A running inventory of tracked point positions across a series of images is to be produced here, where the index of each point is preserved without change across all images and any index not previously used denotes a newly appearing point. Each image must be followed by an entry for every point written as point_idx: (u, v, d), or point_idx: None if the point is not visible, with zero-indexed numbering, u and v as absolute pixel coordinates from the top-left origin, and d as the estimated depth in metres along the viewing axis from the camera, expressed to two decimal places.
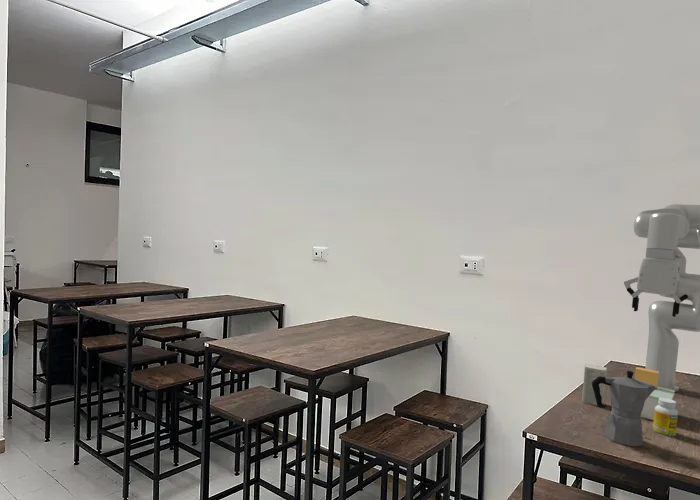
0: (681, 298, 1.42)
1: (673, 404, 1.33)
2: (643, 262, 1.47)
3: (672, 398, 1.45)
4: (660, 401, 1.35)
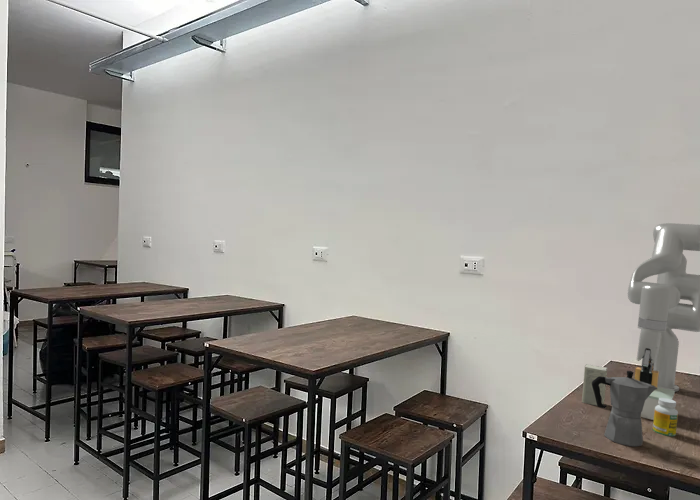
0: None
1: (673, 404, 1.33)
2: (657, 335, 1.50)
3: (672, 398, 1.45)
4: (660, 401, 1.35)
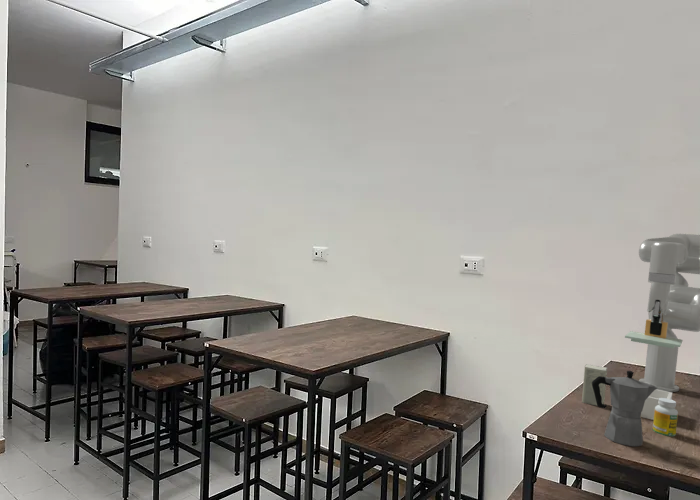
0: None
1: (673, 404, 1.33)
2: (666, 287, 1.62)
3: (680, 344, 1.57)
4: (660, 401, 1.35)
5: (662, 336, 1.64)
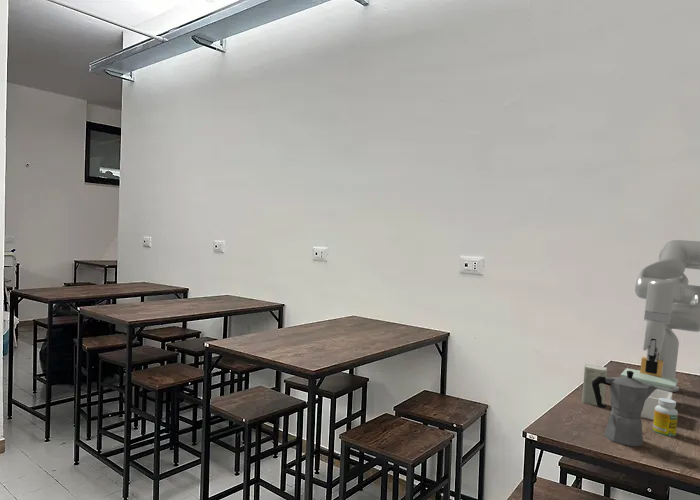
0: None
1: (673, 404, 1.33)
2: (662, 326, 1.62)
3: None
4: (660, 401, 1.35)
5: (657, 375, 1.64)
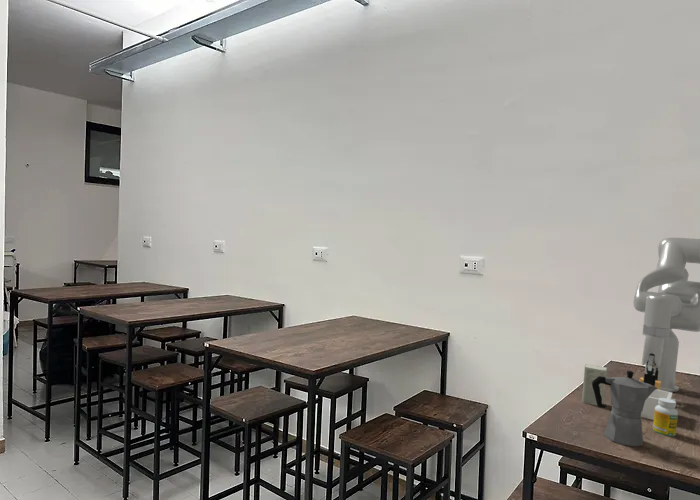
0: None
1: (673, 404, 1.33)
2: (660, 341, 1.62)
3: None
4: (660, 401, 1.35)
5: None
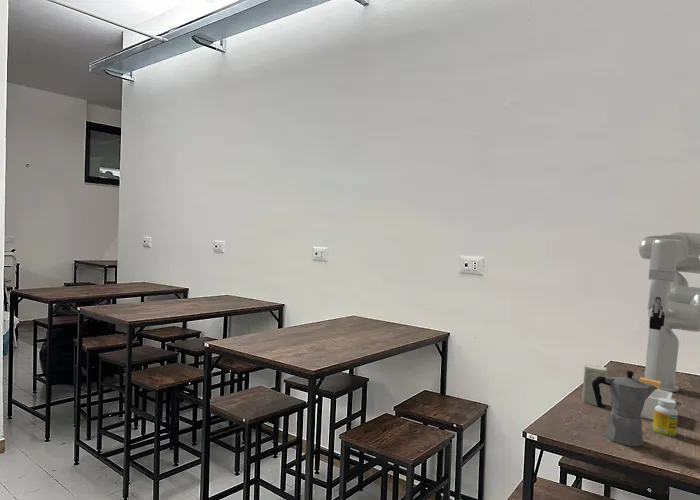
0: None
1: (673, 404, 1.33)
2: (666, 285, 1.62)
3: None
4: (660, 401, 1.35)
5: None
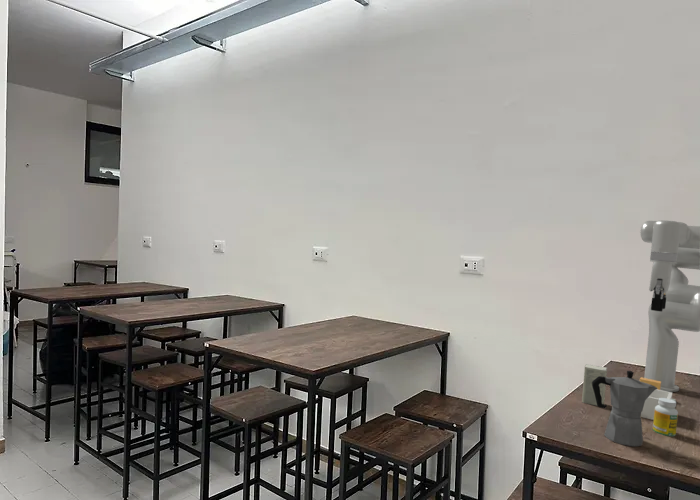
0: None
1: (673, 404, 1.33)
2: (668, 266, 1.61)
3: None
4: (660, 401, 1.35)
5: None
